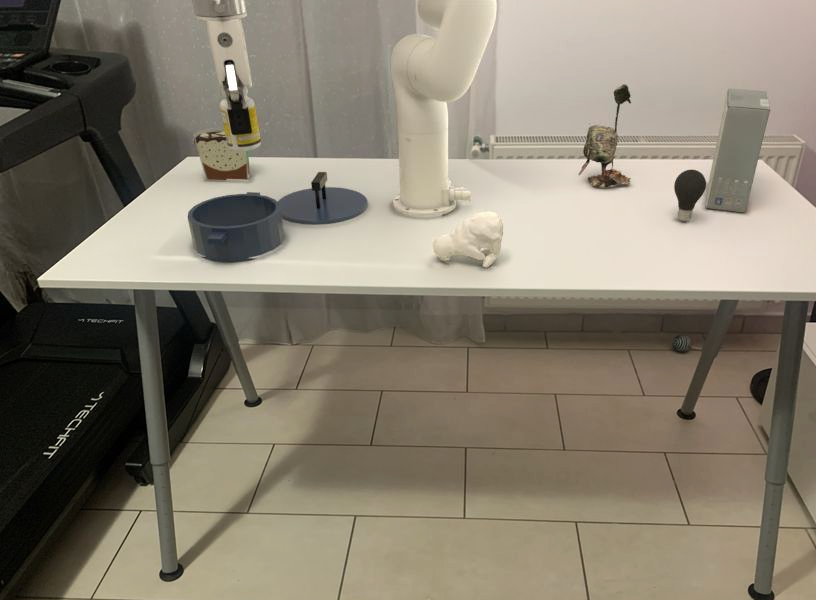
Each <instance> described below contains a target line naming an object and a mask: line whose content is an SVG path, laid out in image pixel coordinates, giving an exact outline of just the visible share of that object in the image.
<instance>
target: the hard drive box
mask: <svg viewBox="0 0 816 600" xmlns="http://www.w3.org/2000/svg"><path fill="white" fill-rule="evenodd" d="M770 113H771V104H770V101H769V95H768V92H767V91H766V90H754V89H741V88H728V89H727V90H726V96H725V101H724V106H723V111H722V115H721V120H720V125H719V129H718V134H717V139H716V144H715V148H714V154H713V158H712V164H711V168H710V172H709V173H710V174H709V179H708V185H707V194H706V202H705V208H706V209H712V210H720V211H729V212H736V213H737V212H738V213H746V211H747V207H748V202H749V199H750V195H751V191H752V187H753V182H754V179H755V174H756V171H757V167H758V166H757V165H758V161H759V158H760V153H761V150H762V145H763V141H764V137H765V133H766V130H767V129H766V128H767V126H768V125H767V123H768V121H769V117H770Z"/></svg>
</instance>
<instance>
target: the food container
mask: <svg viewBox="0 0 816 600" xmlns="http://www.w3.org/2000/svg"><path fill="white" fill-rule="evenodd" d="M192 145H195V146H196V149H197V153H198V156H199V160H200V163H201V166H202V170H203V172H204V176H205V180H206V181H207V182H226V181H227V180H250V158H249V157H250V156H249V150H247V151H234V150H231V149H229V148H228V145H227V140H226V135H225V130H224V127H213V128H208V129H203V130H200V131H197V132H195V133H193V137H192Z"/></svg>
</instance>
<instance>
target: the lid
mask: <svg viewBox="0 0 816 600" xmlns="http://www.w3.org/2000/svg"><path fill="white" fill-rule="evenodd" d="M327 182H328V173H327V171H318V172H317V173H316V175H315V177H314V178H313V179H312V181H311V182H310V185H311V188H305V189H301V190H297V191H293V192H291V193H288V194H286V195H284V196H282V197H281V198H280V199H278V200H277V202H278V203H280V209H281V216H282V220H283V219H284V220H286V221H287V222H288V221H289V222H291V223H295V224H296V223H297V224H302V225H329V224H335V223H340V222H344V221H348V220H350V219H354V218H355V217H358V216H359V215H361V214H363V213H364V212H365V211H366V210H367V208H368V206H369V204H368V203H369V201H368V198H367V197H366V195H364V194H363V193H361V192H359V191H357V190H354V189H350V188H345V187H333V186H326V184H327Z"/></svg>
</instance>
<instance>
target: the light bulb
mask: <svg viewBox="0 0 816 600" xmlns="http://www.w3.org/2000/svg"><path fill="white" fill-rule="evenodd" d="M673 188H674V189H673V190H674V194H675V196H676V199H677V207H678V212H677V219H678V220H680V222H681V223H687V222H688V221H689V220H691V218H692V215H693V211H694V209H695V206H696V204H697V202H698V201H699V200H700V199H701V198H702V196H704V194H705V191H706V190H707V189H706V188H707V180H706V177H705V175H704V174H703V173H702V172H700V171H699V170H696V169H687V170H684V171H682V172H680V173H679V174H678V175H677V177H676V179H675V181H674V186H673Z"/></svg>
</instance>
